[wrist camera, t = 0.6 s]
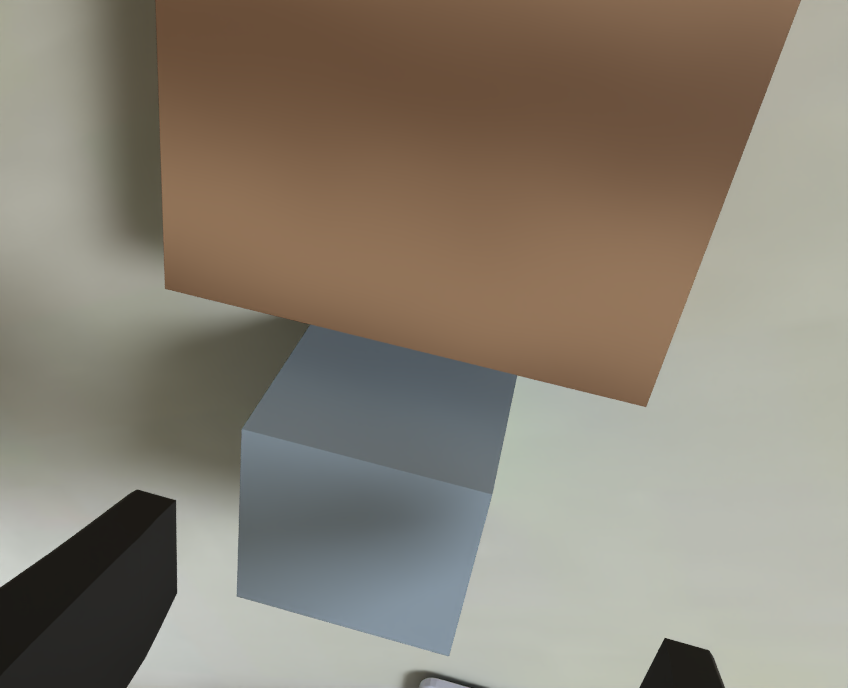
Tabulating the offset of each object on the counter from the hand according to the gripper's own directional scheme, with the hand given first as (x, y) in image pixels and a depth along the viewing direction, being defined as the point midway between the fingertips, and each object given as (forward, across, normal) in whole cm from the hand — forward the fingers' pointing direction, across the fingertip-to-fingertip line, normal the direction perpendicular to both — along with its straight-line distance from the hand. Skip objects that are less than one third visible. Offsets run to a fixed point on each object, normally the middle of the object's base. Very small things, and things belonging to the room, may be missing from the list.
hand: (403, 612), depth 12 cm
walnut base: (+9, +2, -6) cm, 11 cm away
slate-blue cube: (+9, +2, +3) cm, 10 cm away
